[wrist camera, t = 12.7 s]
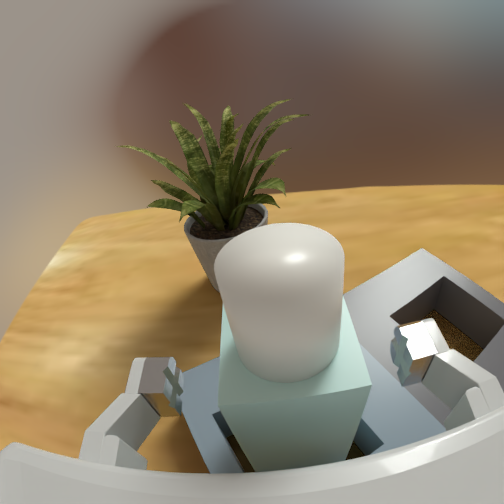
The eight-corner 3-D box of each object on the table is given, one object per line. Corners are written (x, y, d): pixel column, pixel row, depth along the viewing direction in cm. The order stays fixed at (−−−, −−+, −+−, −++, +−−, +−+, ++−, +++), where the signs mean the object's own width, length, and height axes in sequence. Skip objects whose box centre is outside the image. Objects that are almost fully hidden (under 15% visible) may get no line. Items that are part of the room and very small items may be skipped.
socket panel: (415, 280, 25) (421, 248, 23) (525, 367, 15) (546, 336, 13) (187, 405, 19) (169, 378, 17) (281, 575, 9) (275, 583, 7)
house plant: (345, 244, 31) (339, 77, 22) (299, 351, 21) (274, 102, 12) (224, 227, 37) (195, 90, 28) (150, 306, 28) (83, 132, 18)
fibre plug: (327, 419, 17) (340, 206, 9) (337, 478, 13) (392, 303, 5) (262, 428, 17) (202, 225, 9) (265, 487, 14) (181, 332, 6)
